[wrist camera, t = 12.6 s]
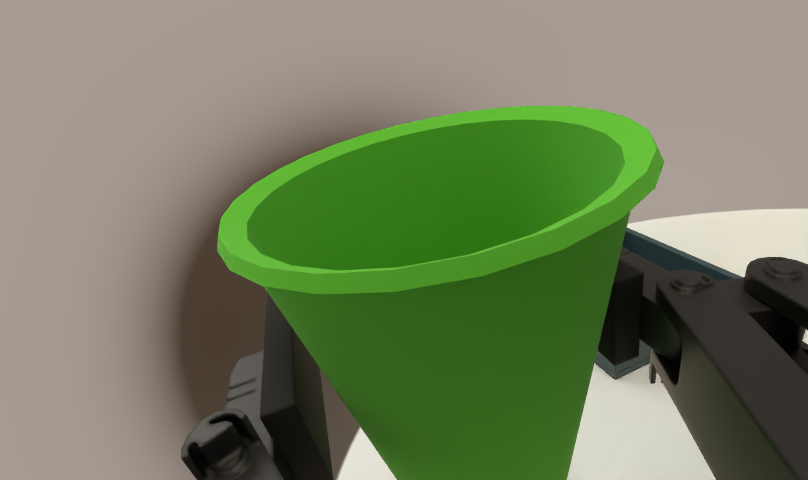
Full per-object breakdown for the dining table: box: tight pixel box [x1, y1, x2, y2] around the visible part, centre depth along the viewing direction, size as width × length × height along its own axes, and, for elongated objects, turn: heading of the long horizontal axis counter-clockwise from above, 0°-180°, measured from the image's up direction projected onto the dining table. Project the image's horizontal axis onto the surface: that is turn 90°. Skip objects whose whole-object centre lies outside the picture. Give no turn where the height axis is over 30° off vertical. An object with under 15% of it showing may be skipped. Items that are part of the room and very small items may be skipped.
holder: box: [595, 227, 743, 379], centre depth 36 cm, size 13×13×4 cm
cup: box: [217, 106, 664, 480], centre depth 11 cm, size 9×9×11 cm
